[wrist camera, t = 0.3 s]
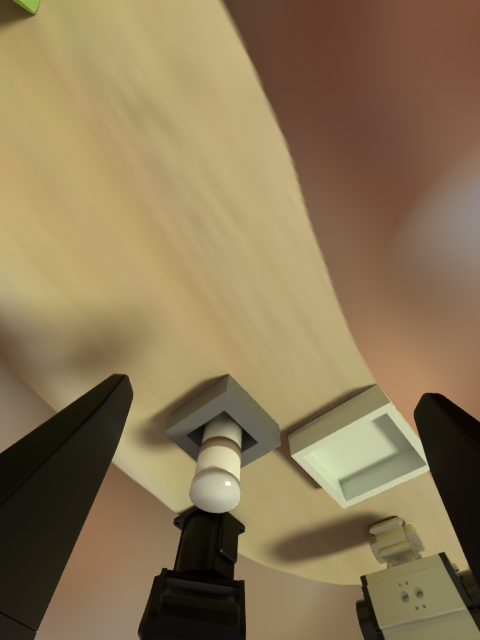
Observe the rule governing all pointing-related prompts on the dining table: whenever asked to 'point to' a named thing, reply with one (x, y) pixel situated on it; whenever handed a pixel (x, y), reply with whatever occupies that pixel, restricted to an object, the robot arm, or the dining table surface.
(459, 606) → the pneumatic valve
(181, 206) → the dining table surface
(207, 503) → the white light bulb
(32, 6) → the gearbox
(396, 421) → the parts tray
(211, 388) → the grey square frame
